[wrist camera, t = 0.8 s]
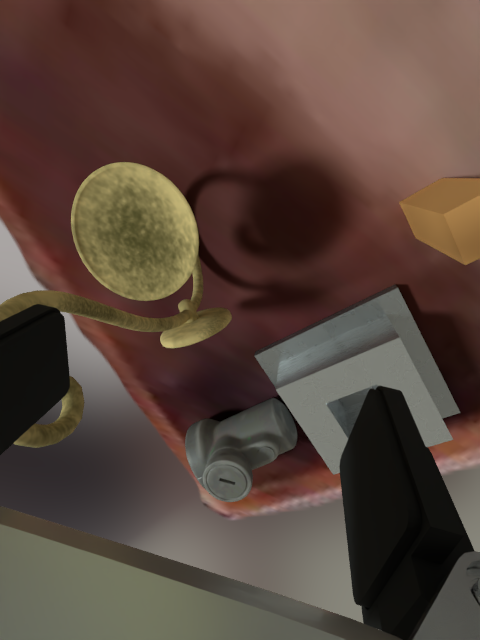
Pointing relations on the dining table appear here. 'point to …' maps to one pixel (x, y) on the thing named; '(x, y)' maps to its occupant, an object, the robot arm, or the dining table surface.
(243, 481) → the pipe fitting
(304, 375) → the square hole block
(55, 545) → the robot arm
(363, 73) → the dining table surface
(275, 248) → the dining table surface
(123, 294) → the wall sconce
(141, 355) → the dining table surface
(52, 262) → the dining table surface
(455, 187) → the orange rectangular block
